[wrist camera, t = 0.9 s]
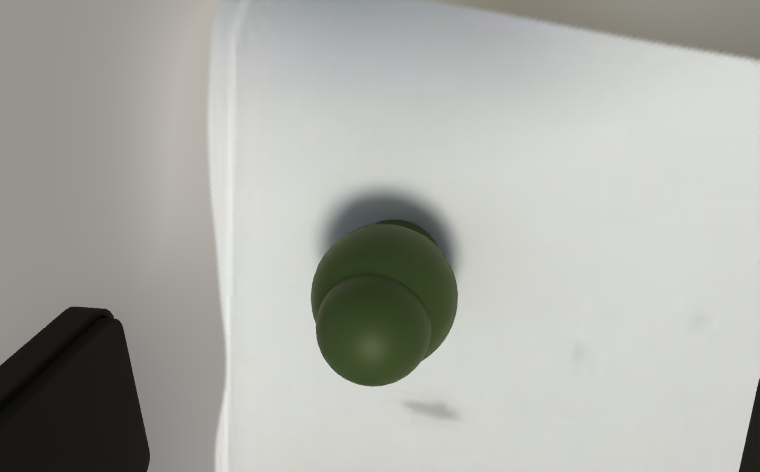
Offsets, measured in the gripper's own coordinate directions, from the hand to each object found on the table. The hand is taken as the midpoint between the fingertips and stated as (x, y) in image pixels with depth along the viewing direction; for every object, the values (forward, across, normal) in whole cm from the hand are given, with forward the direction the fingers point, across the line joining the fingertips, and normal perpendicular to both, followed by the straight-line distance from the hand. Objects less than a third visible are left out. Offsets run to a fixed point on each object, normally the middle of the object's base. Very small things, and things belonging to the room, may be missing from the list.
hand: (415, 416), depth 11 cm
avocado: (+20, +4, +8) cm, 22 cm away
